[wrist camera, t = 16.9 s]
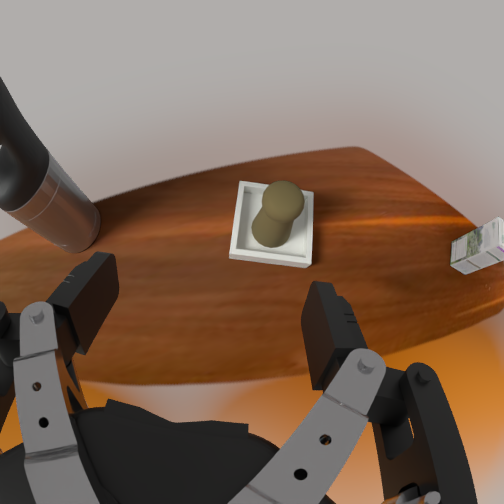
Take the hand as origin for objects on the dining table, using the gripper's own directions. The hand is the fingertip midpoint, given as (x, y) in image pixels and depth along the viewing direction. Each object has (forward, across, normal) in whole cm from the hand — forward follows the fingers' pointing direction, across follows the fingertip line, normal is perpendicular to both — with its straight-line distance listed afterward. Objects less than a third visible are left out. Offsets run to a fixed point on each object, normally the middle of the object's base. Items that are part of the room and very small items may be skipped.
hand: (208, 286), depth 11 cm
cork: (+30, -6, +10) cm, 32 cm away
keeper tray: (+31, -6, +10) cm, 33 cm away
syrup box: (+31, -46, +10) cm, 56 cm away
